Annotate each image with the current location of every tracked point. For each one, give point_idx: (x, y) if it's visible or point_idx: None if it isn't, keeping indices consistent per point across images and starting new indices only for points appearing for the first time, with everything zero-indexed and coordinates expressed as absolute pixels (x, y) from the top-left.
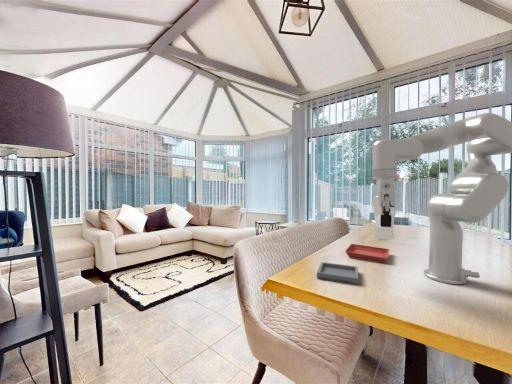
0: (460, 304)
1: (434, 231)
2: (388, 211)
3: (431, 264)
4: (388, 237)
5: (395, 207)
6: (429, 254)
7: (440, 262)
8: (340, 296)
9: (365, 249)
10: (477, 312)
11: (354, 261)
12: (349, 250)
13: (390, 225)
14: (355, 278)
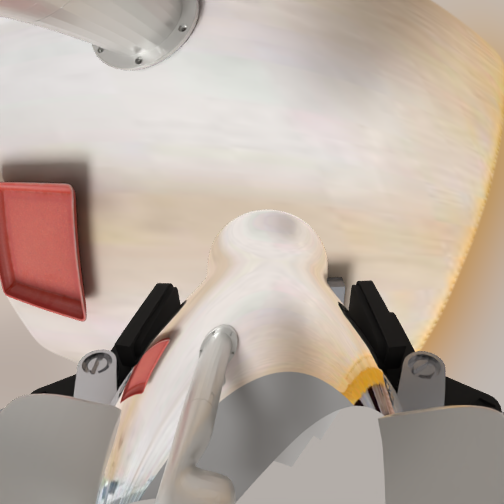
0: (360, 27)
1: None
2: (478, 401)
3: (136, 40)
4: (324, 254)
5: (334, 383)
6: (100, 39)
7: (155, 9)
8: (422, 312)
9: (5, 250)
10: (389, 13)
11: (117, 284)
12: (48, 300)
13: (372, 289)
14: (344, 294)
